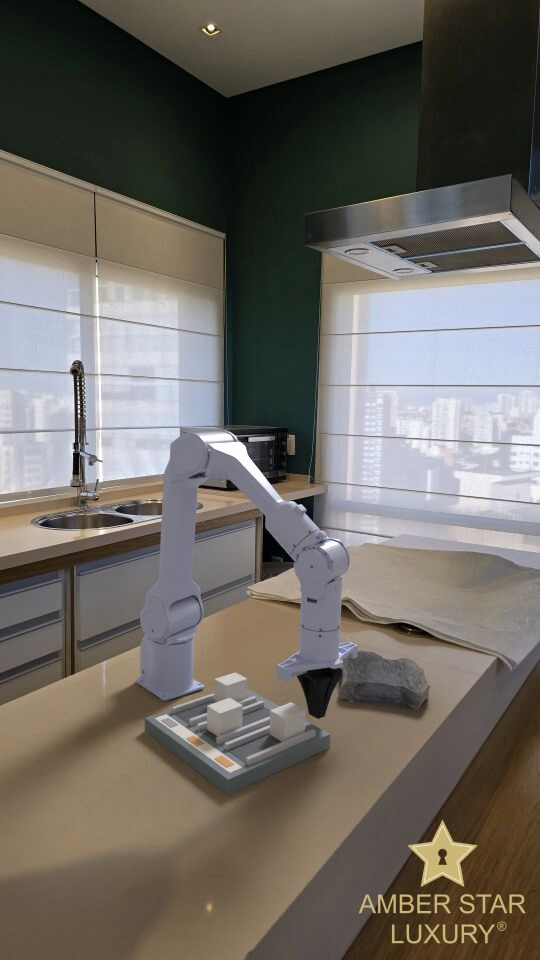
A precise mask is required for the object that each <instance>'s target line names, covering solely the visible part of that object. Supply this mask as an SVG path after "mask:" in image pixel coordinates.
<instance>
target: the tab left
mask: <svg viewBox="0 0 540 960" xmlns="http://www.w3.org/2000/svg"><path fill="white" fill-rule="evenodd" d="M247 689H248V678H247V677H244V676H243V675H241V674H240V673H237V672H236V671H235V672H233V673H230V674H226V675H223V676H219V677H217V678H214V692H213V693H214V701H216V702H219V701H222V700H225V699H228V698H231V699H233V700H235V701H236V702H239V701H242V700H244V699H247Z"/></svg>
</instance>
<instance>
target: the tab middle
mask: <svg viewBox="0 0 540 960" xmlns="http://www.w3.org/2000/svg"><path fill="white" fill-rule="evenodd" d="M242 720H243V705H241V704H240V703H238V702H236V701H235V700H233V699H231V698H228V699H225V700H222V701H219V702H216V703H213V704H210V705H207V730H209V731H210V732H212V733H213V734H215V735H216V736H221V735H223V734H226V733H228V732H231V731H234V730H236V729H239V728H241V727H242Z"/></svg>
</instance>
